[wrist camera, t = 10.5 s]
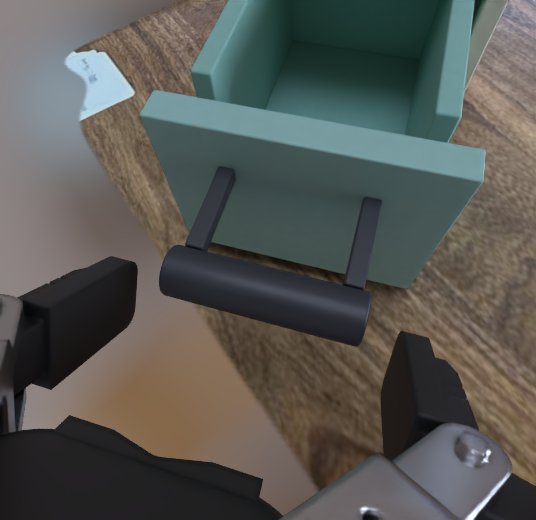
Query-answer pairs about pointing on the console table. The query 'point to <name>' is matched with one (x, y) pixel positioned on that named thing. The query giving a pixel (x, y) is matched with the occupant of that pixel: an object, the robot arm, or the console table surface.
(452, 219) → the teal pull-out drawer
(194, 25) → the console table surface
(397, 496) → the robot arm
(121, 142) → the console table surface
